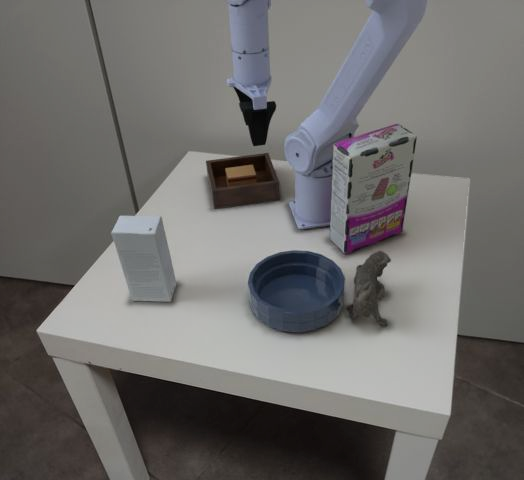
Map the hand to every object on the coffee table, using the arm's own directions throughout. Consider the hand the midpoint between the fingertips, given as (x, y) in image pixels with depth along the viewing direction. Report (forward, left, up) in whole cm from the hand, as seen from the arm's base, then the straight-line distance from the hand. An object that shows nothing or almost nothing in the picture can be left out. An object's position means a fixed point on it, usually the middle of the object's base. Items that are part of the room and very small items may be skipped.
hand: (255, 134), depth 92 cm
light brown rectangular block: (+3, +1, -9) cm, 9 cm away
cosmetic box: (+20, +26, -10) cm, 34 cm away
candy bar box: (-14, +20, -10) cm, 26 cm away
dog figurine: (-10, +35, -10) cm, 38 cm away
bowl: (0, +32, -9) cm, 34 cm away
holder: (+3, +1, -9) cm, 10 cm away
